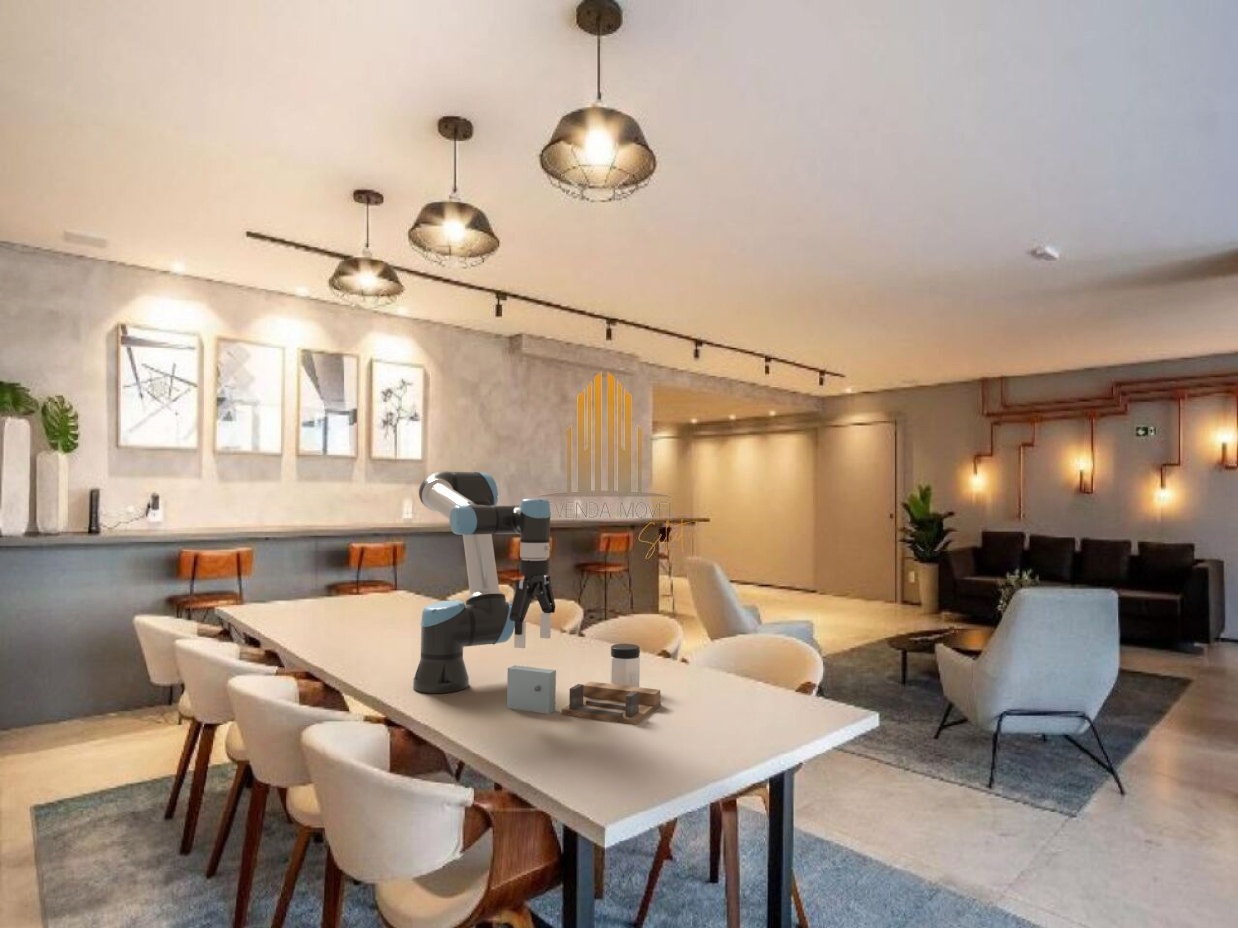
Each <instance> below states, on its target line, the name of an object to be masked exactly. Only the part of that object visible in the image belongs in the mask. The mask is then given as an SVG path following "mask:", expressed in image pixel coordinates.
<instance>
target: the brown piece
mask: <svg viewBox="0 0 1238 928" xmlns="http://www.w3.org/2000/svg"><path fill="white" fill-rule="evenodd" d="M568 700H569V703H568V705H566V706H564V707H563V708H561V709H560V715H562V716H563V715H564V716H573V717H579V718H584V719H593V720H598V721H599V720H600V721H607V722H614V723H615V722H616V723H621V724H629V725H636V726H637V725H638V724H640V722H642V721H643V720H645V719H646V718H647V717H648V716H649V715H651V714H652V713H653V712H654V711H656V709H658V708H659V707H660V706H661V704H662V701H661V689H658V688H657V689H656V688H655V689H654V688H649V687H648V688H647V687H640V686H639V687H632V686H624V685H615V684H610V683H606V682H597V681H588V682H587V683H585V684H582V683H577V684H575V685H574V686H571V687H570V688H569V699H568Z"/></svg>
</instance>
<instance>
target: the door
mask: <svg viewBox="0 0 1238 928" xmlns="http://www.w3.org/2000/svg"><path fill="white" fill-rule="evenodd" d="M506 678H507V683H506V684H507V685H506V686H507V689H506V709H513V710H521V711H526V712H533V713H534V712H535V713H542V714H547V715H548V714H551V713H552V712H555V711H556V692H557V691H556V689H557V670H556V669H550V668H549V669H548V668H541V667H531V666H524V665H511V666H509V667H507V677H506Z"/></svg>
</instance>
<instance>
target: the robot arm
mask: <svg viewBox="0 0 1238 928" xmlns="http://www.w3.org/2000/svg"><path fill="white" fill-rule="evenodd" d="M498 496H499V489H498V486H497V482H496V480H495V478H494V477H493V476H492V475H490V474H489V473H487V472H480V471H474V472H473V471H449V470H448V471H447V470H446V471H444V470H443V471H438V472H434V473H431V474H429V475H427V477H426V478H425V479H423V480H422V482H421V484H420V486H419V488H418V497H419V500H420V502H421V503H422V505H423V506H424V507H426V508H427V509H428V510H431V511H434V512H438V513H440V514H441V515H443V516H444V517H445V518H447V519H448V520H449V527H450V529H451V532H452V533H453V534H455V535H462V538H463V539H462V540H463V545H464V546H463V547H464V555H465V562H466V563H465V564H466V570H467V581H468V588H469V596H468V597H467V599H466V600H465V602H464V601H463V600H459V599H458V600H457V599H456V600H455V599H454V600H444V601H439V602H438V601H437V602H433V603H431V604H428V605H427V606H425V607H424V608H423V610H422V613H421V621H420V627H421V633H420V659H419V662H418V666H417V669H416V670H415V674H414V678H413V682H412V683H413V684H412V685H413V686H412V688H413V690H415V691H417V692H420V693H425V694H446V693H455V692H459V691H463V690H464V689H467V688H468V687H469V685H470V683H469V682H470V681H469V680H470V679H469V675H468V669H467V667H466V664H465V663H466V662H465V661H464V648H466V647H474V646H475V647H476V646H484V645H485V646H486V645H493V646H494V645H496V644H502V643H503V644H504V643H506V642H508V641H509V640H510V639H511V637H512V636H513V635H514V637H513V638H514V639H513V640H514V641H513V642H514V643H513V644H514V645H513V646H514V648H515V649H526V639H527V638H526V636H527V635H526V633H527V632H526V630H527V627H526V626H527V621H526V620H525V618H526V615H527V613H528V610H529V607H530V605H531V602H532V600H533V599H534V598H536V600H537V602H538V605H539V607H540V609H541V612H540V613H539V615H540V617H539V618H540V620H539V623H540V624H539V625H540V626H539V638H540V639H547V640H549V639H551V636H552V635H551V631H552V630H551V629H552V628H551V626H552V623H551V622H552V613H553V614H555V612H556V602H555V598H554V594H553V588H552V584H551V581H552V579H551V576H550V575H548V574H549V573H550V561H549V558H550V550H551V546H550V538H551V537H550V534H551V515H552V514H551V513H552V512H551V503H550V500H549V499H547V498H523V499H522V500H521V501H520V502H521V503H520V505H518V504H517V505H497V503H498V500H499V499H498ZM493 535H520V537H519V538H520V540H519V542H520V544H519V545H520V546H519V557H520V558H521V559H520V560H519V574H520V575H522V576H524V577H523V580H522V579H518V580H517V581H516V589H515V593H514V598H513V601H512V602H510V601H507V599H506V594H505V593H503V592H502V591H501V590H500V585H499V578H498V573H497V565H496V559H495V550H494V543H493ZM513 633H514V634H513Z"/></svg>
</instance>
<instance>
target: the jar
mask: <svg viewBox="0 0 1238 928" xmlns="http://www.w3.org/2000/svg"><path fill="white" fill-rule="evenodd" d="M640 649H641V648H640V646H639V645H637V644H631V643H616V644H612V645H611V646H610V683H609V684H615V685H624V686H632V687H640V672H641V671H640V667H641V666H640V661H641V660H640V659H641V658H640V653H641V650H640Z"/></svg>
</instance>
